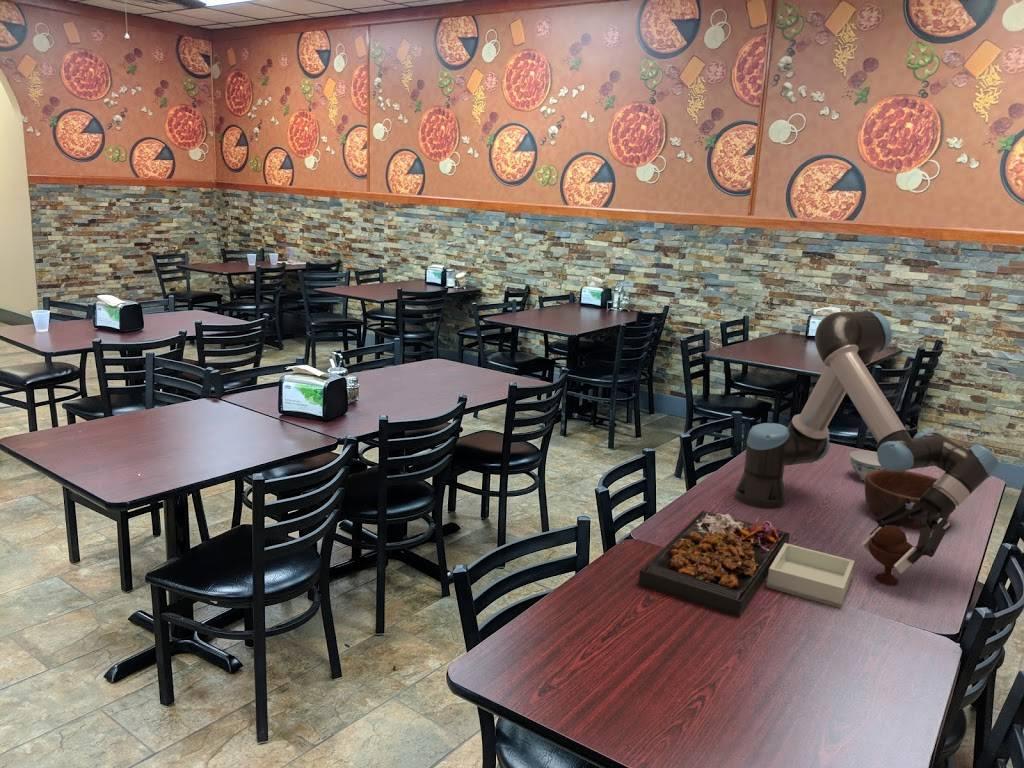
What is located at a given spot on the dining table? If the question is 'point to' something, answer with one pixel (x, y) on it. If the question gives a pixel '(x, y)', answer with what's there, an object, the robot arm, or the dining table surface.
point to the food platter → (716, 562)
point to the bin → (811, 574)
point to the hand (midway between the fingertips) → (880, 558)
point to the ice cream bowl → (888, 551)
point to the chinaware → (865, 462)
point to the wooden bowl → (895, 490)
